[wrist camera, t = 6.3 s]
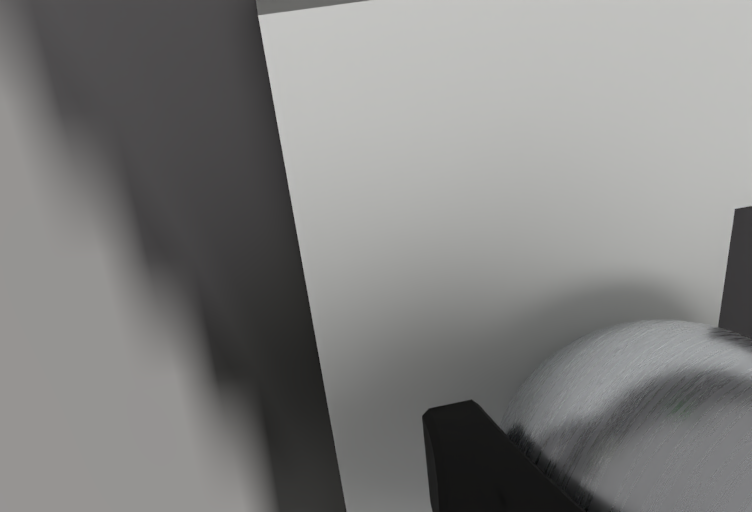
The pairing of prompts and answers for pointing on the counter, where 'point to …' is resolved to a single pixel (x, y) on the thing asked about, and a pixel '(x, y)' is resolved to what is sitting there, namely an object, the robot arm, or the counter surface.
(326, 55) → the deck
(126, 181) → the counter surface
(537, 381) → the ball
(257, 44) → the counter surface
